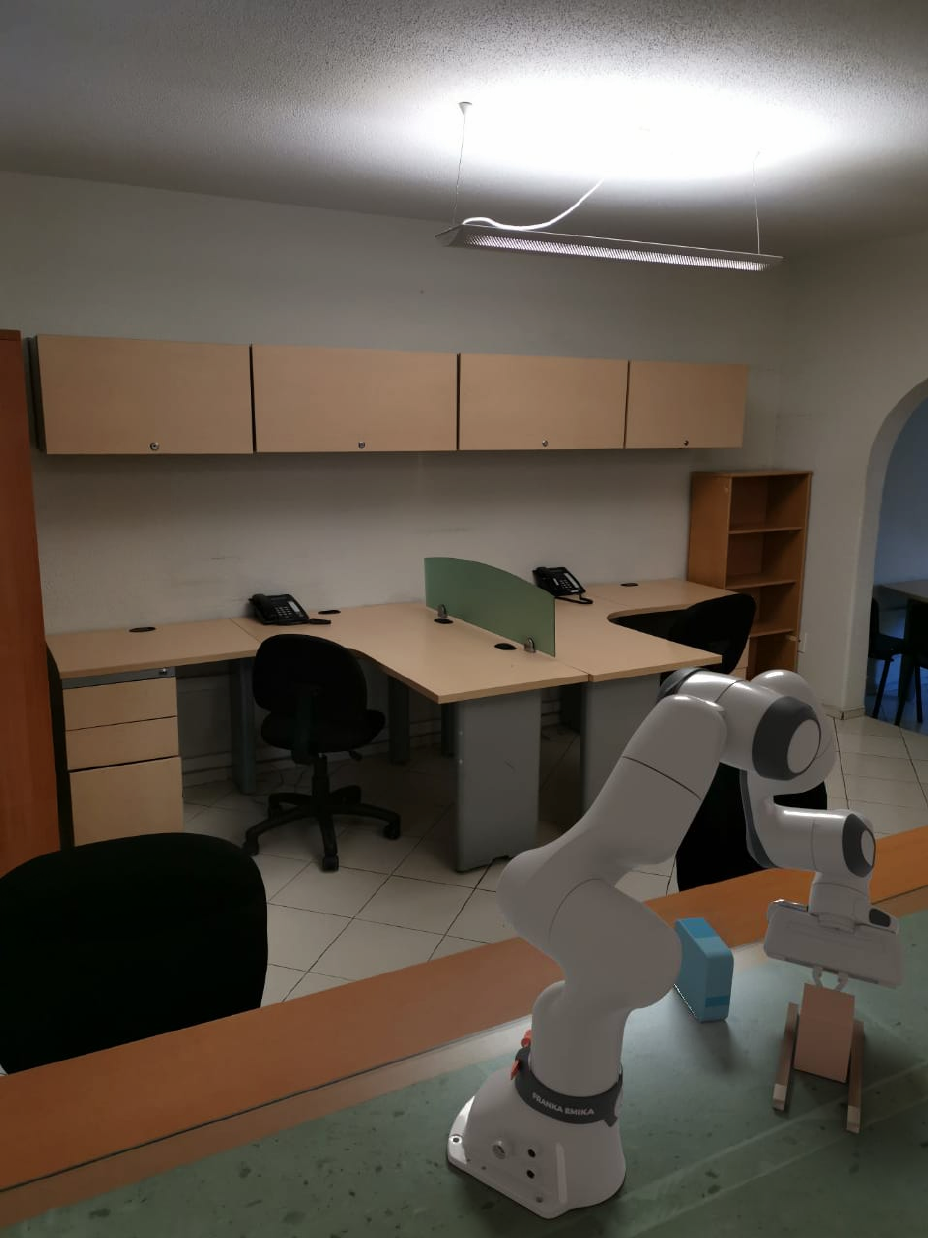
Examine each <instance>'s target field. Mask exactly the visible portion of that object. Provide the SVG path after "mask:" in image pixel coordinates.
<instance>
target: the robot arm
mask: <svg viewBox="0 0 928 1238" xmlns="http://www.w3.org/2000/svg"><path fill="white" fill-rule="evenodd" d="M656 694H657V695H656V697H655V701H654V702H655V703H654V707H653V709H652V710H651V711H650V712H649V714H648V715H647V716H646V717H645V718H644V719H643V721H642V723H641V724H640V725H639V727H638V728H637V729H636V730H635V732H634V734H633V735H632V736H631V738H630V740H629V742H628V743H627V745H626V746H625V748H624V749H623V751H622V753H621V755H620V757H619V759H618V760H617V762H616V764H615V766H614V768H613V769H612V771H611V773H610V775H609V776H608V778H607V780H606V782H605V784H604V785H603V787H602V789H601V790H600V792H599V793H598V795H597V796H596V798H595V800H594V801H593V803H592V804H591V806H590V807H589V809H588V810H587V811H586V813H585V814H584V815H583V816H582V817H581V818H580V819H579V821H578V822H576V823H575V824H574V825H573V826H572V827H571V828H570V829H569V830H567V831H566V832H565V833H563V835H561V836H560V837H558V838H557V839H555V840H553V841H552V842H550V843H548V844H546V845H544V846H541V847H538V848H533V849H529V850H526V851H523V852H521V853H519V854H517V855H516V856H515V857H513V858H512V859H511V860H510V861H509V862H508V863H507V865H506V866H505V867H504V869H503V870H502V872H501V874H500V876H499V879H498V881H497V885H496V890H495V903H496V906H497V909H498V911H499V913H500V914H501V915H502V917H503V918H504V919H505V920H506V921H507V923H508V924H509V926H511V928H512V929H513V930H514V931H515V932H516V933H517V935H519V937H520V938H522V939H523V940H525V941H526V942H527V943H528V944H530V945H532V946H533V947H535V948H536V949H538V951H540V952H541V953H543V954H544V955H545V956H547V957H548V958H550V959H551V960H553V961H555V963H556V964H557V965H558V966H559V967H560V968H561V971H562V973H563V976H564V979H562V980H560V981H557V982H554V983H551V984H550V985H548V986H547V987H546V988H545V989H544V990H543V991H542V992H541V993H540V994H539V995H538V997H537V998H536V1000H535V1002H534V1004H533V1006H532V1011H531V1027H530V1029H528V1030H527V1031H526V1032H525V1033H524V1035H523V1038H522V1039H521V1041H520V1045H521V1048H520V1049H519V1050H518V1051H517V1053H516V1054H515V1058H514V1064H513V1065H509V1066H506V1067H501V1068H499V1069H497V1070H495V1071H493V1072H492V1074H490V1075H489V1076H488V1077H487V1078H486V1079H485V1081H484V1082H483V1083H482V1085H481V1086H480V1087H479V1089H478V1091H476V1093H475V1094H474V1095H473V1096H472V1097H470V1098H469V1100H468V1101H466V1103H465V1104H464V1105H463V1107H462V1108H461V1109H460V1111H459V1112H458V1114H457V1116H456V1118H455V1119H454V1121H453V1123H452V1125H451V1128H450V1132H449V1135H448V1139H447V1145H446V1146H447V1147H446V1148H447V1149H446V1152H447V1153H446V1154H447V1158H448V1161H449V1162H450V1163H451V1164H452V1165H454V1166H456V1167H457V1168H459V1169H460V1170H462V1171H463V1172H465V1173H467V1174H469V1175H471V1177H473V1178H475V1179H477V1180H479V1181H481V1182H482V1183H484V1184H486V1185H487V1186H488V1187H491V1188H493V1190H496V1191H497V1192H500V1193H501V1194H502V1195H504V1196H506V1197H507V1198H510V1199H511V1200H513V1201H514V1202H516V1203H518V1204H520V1205H521V1206H523V1207H524V1208H527V1209H528V1210H530V1211H531V1212H533V1213H535V1214H537V1215H538V1216H540V1217H542V1218H545V1219H553V1218H557V1217H558V1216H560V1215H562V1214H564V1213H566V1212H568V1211H569V1210H573V1209H577V1208H586V1207H590V1206H594V1205H597V1204H600V1203H603V1202H604V1201H606V1200H608V1199H609V1198H611V1197H612V1196H613V1195H614V1194H615V1193H617V1191H618V1190H619V1189H620V1187H621V1186H622V1184H623V1183H624V1180H625V1176H626V1172H627V1171H626V1170H627V1169H626V1168H627V1165H626V1164H627V1163H626V1159H625V1155H624V1152H623V1147H622V1141H621V1134H620V1122H619V1116H620V1114H621V1112H622V1105H623V1096H624V1095H623V1094H624V1083H623V1080H624V1078H623V1077H624V1068H623V1064H622V1062H621V1060H622V1050H623V1049H622V1048H623V1041H624V1034H625V1028H626V1024H627V1021H628V1018H629V1017H630V1014H631V1013H632V1012H633V1011H635V1010H637V1009H639V1010H640V1009H645V1008H648V1007H651V1006H652V1005H655V1004H657V1003H658V1002H660V1001H661V1000H662V999H664V997H666V996H667V995H668V994H669V993H670V992H671V990H672V989H673V988H674V984H675V982H676V980H677V978H678V976H679V973H680V969H681V963H682V949H681V943H680V939H679V937H678V935H677V933H676V932H675V931H674V929H673V928H672V927H671V926H670V925H669V924H668V923H667V922H666V921H665V920H664V919H662V917H660V916H659V915H658V914H657V913H656V912H655V911H654V910H653V909H652V908H651V907H650V906H647V905H646V904H645V903H643V902H641V901H640V900H637V899H636V898H635V897H633V896H631V895H629V894H627V893H626V892H624V891H622V890H620V889H619V888H617V887H616V886H617V884H618V883H619V882H620V880H621V879H622V878H624V876H625V875H626V874H628V873H629V872H631V871H632V870H634V869H636V868H639V867H641V866H654V865H659V864H663V863H666V862H667V861H669V860H670V859H672V857H673V856H674V855H676V853H677V851H678V849H679V847H680V846H681V844H682V841H683V840H684V839H685V838H684V837H685V836H686V834H687V832H688V830H689V829H690V827H691V824H692V823H693V821H694V819H695V817H696V815H697V813H698V811H699V810H700V808H701V805H702V804H703V802H704V800H705V797H706V795H707V793H708V791H709V789H710V787H711V785H712V782H713V780H714V778H715V776H716V773H717V769H718V767H719V765H720V763H722V764H725V765H727V766H730V767H733V768H736V769H739V784H740V785H739V786H740V793H741V800H742V807H743V811H744V812H743V813H744V818H745V825H746V827H745V828H746V831H745V832H746V833H745V834H746V835H745V836H746V847H747V851H748V853H749V855H750V856H751V858H752V859H754V860H755V861H756V862H757V864H759V866H761V867H762V868H764V869H781V870H782V869H784V870H785V869H790V870H797V871H798V870H799V871H807V872H815V873H814V874H815V875H814V878H813V881H812V882H811V884H810V885H811V886H810V892H809V898H808V904H803V903H799V902H792V901H788V900H786V899H778V900H776V901H775V900H774V901H772V902H770V903H769V904H768V907H766V908H767V910H766V916H765V918H766V922H767V924H768V926H767V929H766V934H765V936H764V941H763V946H762V947H763V948H762V949H763V952H764V953H765V955H766V957H768V958H771V959H774V960H778V961H782V962H786V963H788V964H793V965H797V966H802V967H806V968H808V969H809V968H810V969H812V972H811V977H812V979H813V982H814V985H815V986H819V987H823V988H827V989H831V990H835V991H839V992H843V991H842V990H844V988H846V986H847V985H848V983H849V978H850V979H853V980H857V981H861V982H865V983H868V984H869V983H870V984H873V985H876V986H880V987H883V988H884V987H885V988H889V989H892V990H896V989H899V988H900V987H901V986H902V985H903V984H904V981H905V952H904V945H903V942H902V941H901V938H900V937H899V936H898V933H899V929H900V923H899V919H898V918H897V917H896V916H894V915H893V914H890V913H889V912H886V911H885V910H883V909H881V908H879V907H878V906H875V905H873V904H871V896H870V895H871V894H870V888H869V886H870V882H871V879H872V877H873V874H874V868H875V860H876V851H877V849H876V848H877V847H876V846H877V845H876V839H875V834H874V826H873V823H872V821H871V820H870V819H869V818H868V817H867V816H866V815H864V814H862V813H861V812H858V811H857V810H853V809H848V808H838V809H832V810H828V809H813V808H802V807H801V808H800V807H790V806H785V805H779V804H777V803H775V801H774V796H779V795H780V796H781V795H790V794H791V795H793V794H800V793H804V792H807V791H810V790H813V789H814V788H816V787H817V786H819V785H820V784H821V783H823V782H824V781H825V780H826V779H828V776H829V775H830V774H831V772H832V771H833V769H834V767H835V764H836V760H837V744H836V739H835V735H834V732H833V731H834V730H833V729H832V726H831V722H830V720H829V718H828V716H827V713H826V711H825V709H824V707H823V705H822V703H821V701H820V699H819V698H818V696H817V695H816V693H815V692H814V690H813V688H812V686H810V684H809V683H808V682H807V681H806V679H804V678H803V677H802V676H801V675H799V673H798V674H797V673H795V672H794V671H790V670H786V669H771V670H767V671H764V672H762V673H759V674H758V675H756V676H755V677H753V679H751V680H747V679H744V678H741V677H737V676H735V675H734V676H733V675H731V674H724V673H720V672H719V673H718V672H713V671H711V670H709V669H707V668H703V667H694V666H691V667H681V668H679V669H677V670H676V671H674V672H673V673H671V674H670V675H669V676H668V677H666V679H664V681H663V682H662V684H661V685H660V687H659V689H658V692H657V693H656ZM823 972H825V973H829V974H834V975H837V982H838V983H837V986H836V987H835V988H834V989H832V988H828V987H825V986H823V984H822V983H823V982H822V980H821V979H820V978H822V977H823V976H822V975H823Z"/></svg>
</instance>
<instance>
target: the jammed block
mask: <svg viewBox="0 0 928 1238" xmlns="http://www.w3.org/2000/svg"><path fill="white" fill-rule="evenodd" d="M823 987H824V986H823ZM823 987H819V986H816V984H810V983H807V982H804V986H803V993H802V1000H801V1006H800V1007H801V1008H800V1013H799V1014H800V1015H799V1020H798V1021H799V1022H798V1031H797V1039H796V1046H795V1052H794V1061H793V1069H795V1070H799V1071H803V1072H806V1073H808V1074H809V1073H810V1074H813V1075H816V1076H820V1077H824V1078H826V1079H830V1080H834V1081H837V1082H841V1083H844V1084H846V1082H847V1081H846V1080H847V1074H848V1069H849V1068H848V1066H849V1062H850V1055H851V1040H852V1033H853V1022H854V1019H855V1001H856V995H853V994H850V993H846V992H843V991H841V992H839V991H835V990H834V989H833V990H831V989H832V988H829V989H827V988H828V987H825V988H823Z"/></svg>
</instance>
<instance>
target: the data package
mask: <svg viewBox="0 0 928 1238" xmlns="http://www.w3.org/2000/svg"><path fill="white" fill-rule="evenodd" d="M673 928H674V929H673V930H674V931H675V932H676V933H677V935H678V937H679V939H680V943H681V949H682V963H681V969H680V973H679V976H678V978H677V980H676V982H675V985H676V986H677V988H678V989H679V991H680V993H681V994H682V996H683V997H684V999H685V1001H686V1002H687V1003H688V1005H689V1006H690V1007H691V1009H692V1011H693V1012H694V1014H695V1016H696V1017H697V1019H698V1020H697V1019H696V1020H697V1021H698V1022H699V1023H704V1022H712V1021H721V1020H726V1019H728V1017H729V1014H730V1013H729V1012H730V1004H731V996H732V995H731V992H732V985H733V975H734V965H735V961H734V960H735V959H734V955H733V952H732V951H731V949H730V948H729V947H728V946H727V944H726V942H724V940H723V939H722V938H721V937H720V936H719V935H718V933H717V932H716V931H715V930H714V929H713V928H712V926H711V925H710V924H709V923H708V922H707V920H706V919H705V918H703V917H701V916H700V917H688V918H679V919H675V922H674V927H673ZM685 1001H684V1002H685ZM692 1011H691V1012H692ZM694 1014H693V1015H694ZM695 1016H694V1017H695ZM696 1017H695V1018H696Z"/></svg>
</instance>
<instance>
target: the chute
mask: <svg viewBox="0 0 928 1238" xmlns="http://www.w3.org/2000/svg"><path fill="white" fill-rule="evenodd" d="M799 1005H800V1004H798V1003H795V1002H791V1001H789V1002H788V1006H787V1012H786V1018H785V1025H784V1031H783V1037H782V1041H781V1042H782V1043H781V1047H780V1054H779V1060H778V1066H777V1072H776V1076H775V1077H776V1078H775V1079H776V1080H775V1084H774V1092H773V1097H772V1102H771V1103H772V1104H771V1107H772V1108H775V1109H778V1110H781V1111H784V1109H785V1102H786V1097H787V1096H786V1095H787V1089H788V1081H789V1075H790V1068H791V1063H792V1054H793V1050H794V1049H793V1048H794V1042H795V1041H794V1040H795V1034H796V1027H797V1026H796V1025H797V1021H798V1013H799ZM864 1022H865V1021H862V1020H859V1019H856V1018H854V1022H853V1033H852V1040H851V1047H850V1055H849V1074H848V1075H849V1076H848V1077H849V1078H848V1079H849V1080H848V1095H847V1097H848V1098H847V1110H846V1113H847V1114H846V1127H845V1128H846V1129H845V1130H846V1131H849V1132H852V1133H855V1134H859V1132H860V1125H861V1106H862V1105H861V1104H862V1081H863V1079H862V1078H863V1077H862V1075H863V1055H864V1054H863V1052H864V1051H863V1049H864V1048H863V1047H864V1024H865V1023H864Z"/></svg>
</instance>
